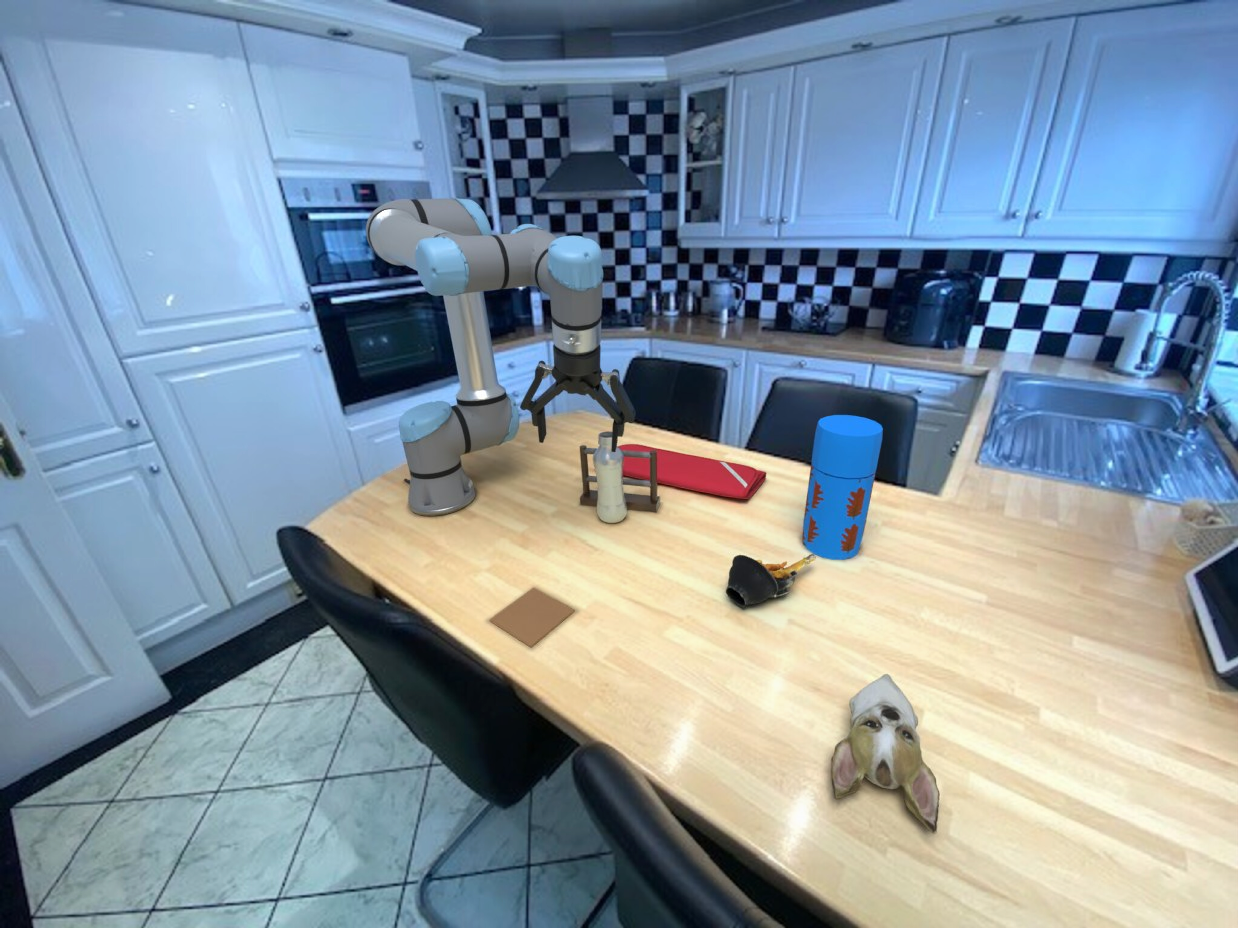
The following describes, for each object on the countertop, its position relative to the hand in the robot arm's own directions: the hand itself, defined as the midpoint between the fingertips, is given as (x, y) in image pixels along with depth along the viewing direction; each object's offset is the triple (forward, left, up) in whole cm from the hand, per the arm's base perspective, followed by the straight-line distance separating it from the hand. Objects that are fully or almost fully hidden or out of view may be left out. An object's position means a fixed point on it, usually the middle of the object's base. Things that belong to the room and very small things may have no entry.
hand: (578, 442), depth 95 cm
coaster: (+13, -19, -22) cm, 32 cm away
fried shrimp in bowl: (+33, +17, -22) cm, 43 cm away
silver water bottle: (-4, +9, -22) cm, 24 cm away
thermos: (+31, +37, -22) cm, 53 cm away
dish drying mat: (-11, +34, -22) cm, 42 cm away
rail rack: (-8, +14, -22) cm, 27 cm away
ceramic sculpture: (+61, +2, -22) cm, 65 cm away
